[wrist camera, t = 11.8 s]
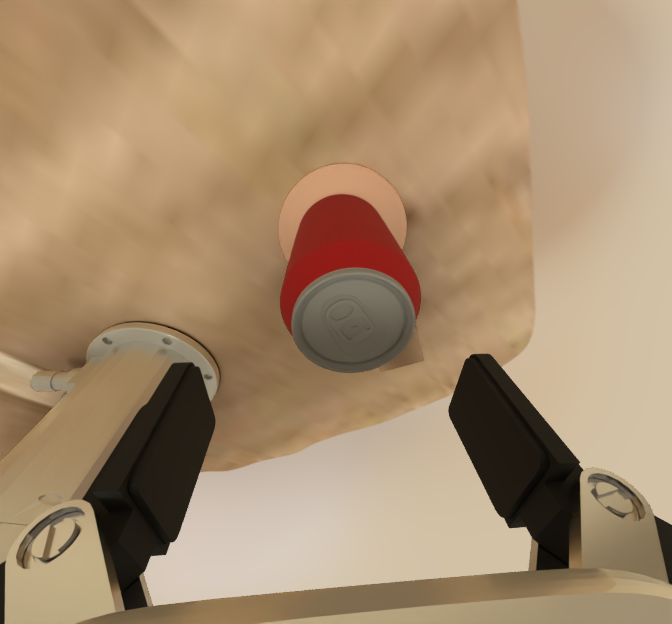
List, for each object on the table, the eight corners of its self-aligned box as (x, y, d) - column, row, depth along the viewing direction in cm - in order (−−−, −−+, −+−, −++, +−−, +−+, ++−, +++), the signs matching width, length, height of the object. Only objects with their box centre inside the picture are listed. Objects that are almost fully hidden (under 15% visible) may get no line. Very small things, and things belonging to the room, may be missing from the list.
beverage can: (330, 289, 25) (334, 401, 15) (279, 226, 21) (239, 313, 11) (399, 247, 23) (457, 342, 13) (353, 170, 19) (383, 216, 9)
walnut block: (374, 343, 29) (380, 371, 26) (364, 313, 27) (369, 340, 24) (412, 333, 28) (424, 360, 25) (405, 301, 26) (416, 326, 23)
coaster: (284, 287, 25) (283, 290, 25) (273, 161, 20) (272, 162, 19) (395, 288, 25) (396, 292, 25) (415, 165, 20) (417, 166, 19)
